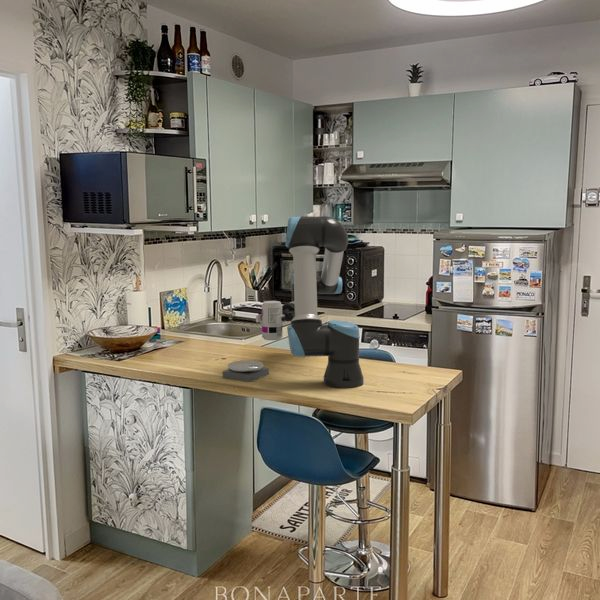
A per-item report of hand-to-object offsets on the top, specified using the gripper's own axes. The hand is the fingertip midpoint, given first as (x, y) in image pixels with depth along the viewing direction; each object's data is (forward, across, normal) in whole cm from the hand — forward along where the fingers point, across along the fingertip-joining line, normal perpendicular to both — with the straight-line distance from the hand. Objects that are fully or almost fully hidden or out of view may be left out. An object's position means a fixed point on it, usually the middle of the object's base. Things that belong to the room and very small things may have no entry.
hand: (266, 319), depth 252 cm
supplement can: (-5, 0, -9) cm, 10 cm away
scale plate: (+6, +6, -21) cm, 23 cm away
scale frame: (+6, +6, -22) cm, 24 cm away
